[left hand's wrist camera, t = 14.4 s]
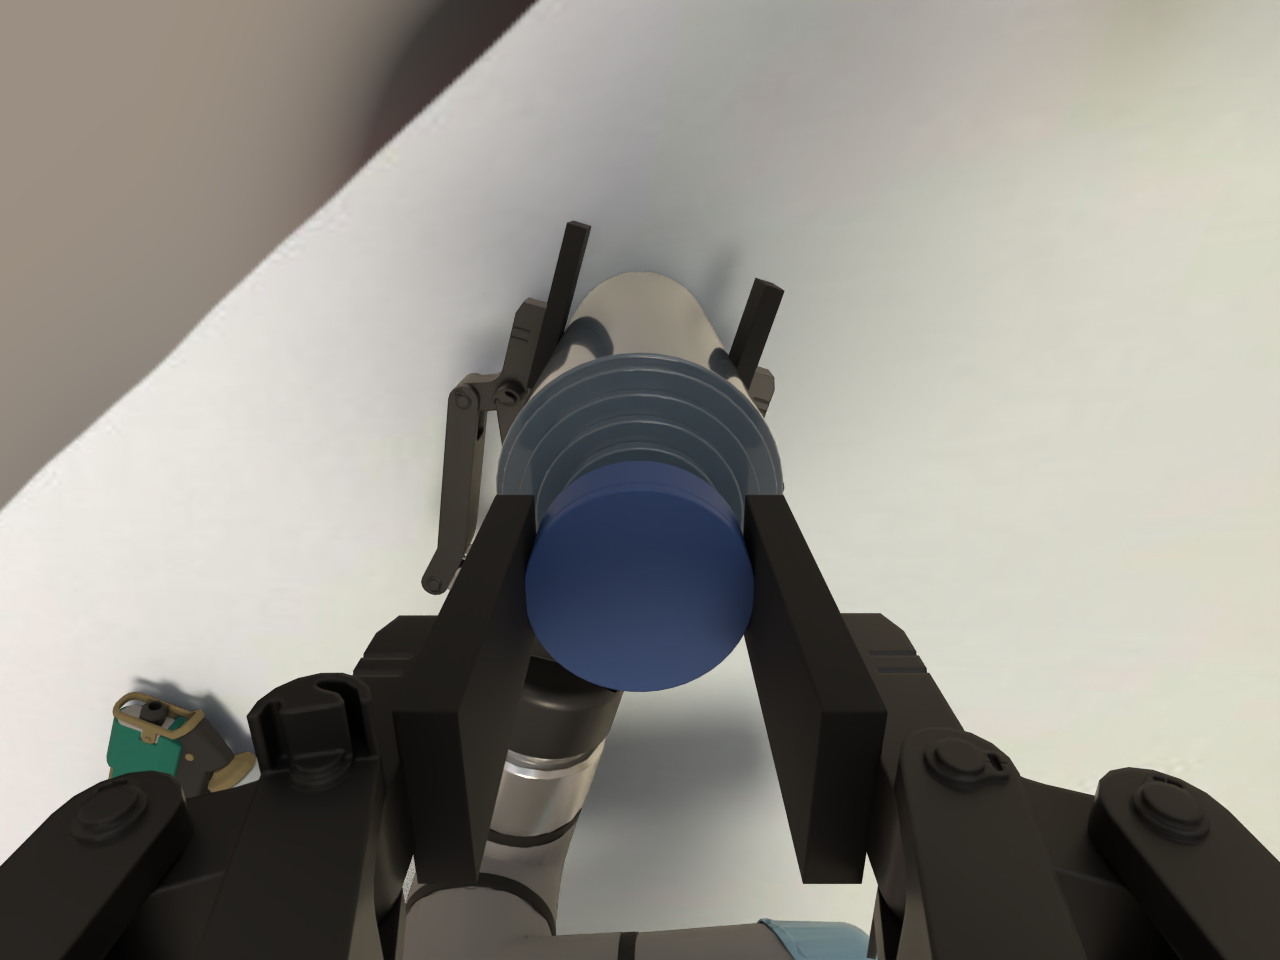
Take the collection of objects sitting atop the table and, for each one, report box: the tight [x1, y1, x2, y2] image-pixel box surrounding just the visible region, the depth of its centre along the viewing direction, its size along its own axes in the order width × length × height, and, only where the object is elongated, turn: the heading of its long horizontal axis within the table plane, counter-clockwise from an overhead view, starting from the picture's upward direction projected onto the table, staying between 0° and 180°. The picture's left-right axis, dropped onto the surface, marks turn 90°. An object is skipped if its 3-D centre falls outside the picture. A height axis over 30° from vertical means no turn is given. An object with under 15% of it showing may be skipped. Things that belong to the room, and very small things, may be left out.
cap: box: [525, 461, 754, 692], centre depth 14 cm, size 4×4×2 cm
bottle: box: [496, 271, 783, 534], centre depth 25 cm, size 7×7×24 cm
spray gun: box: [107, 692, 261, 799], centre depth 45 cm, size 4×17×15 cm
